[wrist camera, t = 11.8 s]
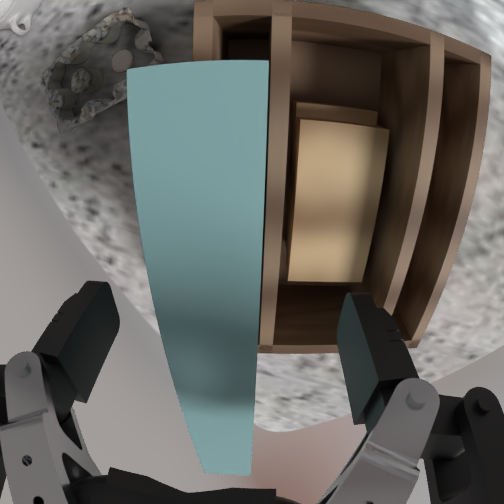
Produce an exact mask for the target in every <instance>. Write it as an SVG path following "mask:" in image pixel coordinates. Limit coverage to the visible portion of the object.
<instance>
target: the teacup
mask: <svg viewBox="0 0 504 504" xmlns="http://www.w3.org/2000/svg"><path fill="white" fill-rule="evenodd" d="M42 1H43V0H0V29H10V28H11V29H12V30H13V31H14V32H15V33H16V34H18V35H25V34H27V33H28V32H29V30H30V27H31V17H32V15H33V14H34V13H35V12H36V10H37V9H38V8H39V6H40V5H41V3H42ZM20 24H24V25H25V30H22V29H20V28H19V27H18V25H20Z"/></svg>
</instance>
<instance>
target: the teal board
mask: <svg viewBox="0 0 504 504" xmlns="http://www.w3.org/2000/svg"><path fill="white" fill-rule="evenodd" d="M268 74H269V61H265V60H216V61H195V62H182V63H171V64H162V65H153V66H146V67H139V68H132V69H127V104H128V124H129V139H130V152H131V163H132V173H133V182H134V191H135V199H136V207H137V214H138V221H139V228H140V234H141V240H142V246H143V252H144V258H145V264H146V269H147V274H148V279H149V284H150V289H151V294H152V299H153V304H154V308H155V313H156V317H157V321H158V326H159V330H160V334H161V338H162V342H163V346H164V350H165V354H166V357H167V361H168V365H169V368H170V372H171V376H172V379H173V383H174V386H175V389H176V392H177V396H178V399H179V402H180V406H181V409H182V412H183V415H184V418H185V421H186V424H187V427H188V430H189V433H190V436H191V439H192V441H193V444H194V447H195V450H196V452H197V455H198V458H199V461H200V463H201V466H202V468H203V471H204V472H206V473H216V474H230V475H250V472H251V456H252V455H251V454H252V439H253V422H254V405H255V386H256V368H257V349H258V329H259V308H260V287H261V265H262V242H263V218H264V193H265V166H266V138H267V107H268Z"/></svg>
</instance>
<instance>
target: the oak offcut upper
mask: <svg viewBox="0 0 504 504" xmlns="http://www.w3.org/2000/svg"><path fill="white" fill-rule="evenodd" d="M389 131H390V130H389V129H386V128H383V127H381V126H378V125H374V124H367V123H360V122H352V121H344V120H335V119H326V118H315V117H302V116H296V128H295V146H294V163H293V178H292V193H291V207H290V220H289V232H288V244H287V256H286V270H287V278H288V281H308V282H362V279H363V275H364V271H365V266H366V262H367V258H368V254H369V249H370V245H371V240H372V236H373V231H374V226H375V221H376V216H377V211H378V205H379V200H380V194H381V188H382V182H383V176H384V169H385V162H386V155H387V148H388V140H389Z"/></svg>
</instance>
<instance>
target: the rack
mask: <svg viewBox="0 0 504 504" xmlns="http://www.w3.org/2000/svg"><path fill="white" fill-rule="evenodd" d="M216 60H265V61H269V74H268V107H267V138H266V166H265V193H264V218H263V242H262V265H261V287H260V308H259V329H258V349H257V353H278V354H311V353H339V350H338V346H337V327H338V323H339V319H340V315H341V311H342V307H343V303H344V299H345V296H346V294H347V293H370V294H371V296H372V298H373V300H374V303H375V305H376V307H377V308H384V309H385V310H386V311H387V312H388V313H389V314H390V315H391V316H392V317H393V318H394V319H395V322H396V324H397V326H398V328H399V332H400V333H401V335H402V338H403V342H405V344H406V347H407V348H417V346H418V344H419V342H420V340H421V338H422V336H423V334H424V332H425V330H426V328H427V326H428V324H429V322H430V320H431V317H432V315H433V313H434V311H435V308H436V306H437V304H438V301H439V299H440V297H441V294H442V292H443V289H444V287H445V284H446V282H447V279H448V277H449V274H450V271H451V269H452V266H453V263H454V260H455V258H456V255H457V252H458V249H459V246H460V243H461V240H462V236H463V233H464V230H465V226H466V223H467V220H468V216H469V212H470V209H471V205H472V201H473V197H474V193H475V189H476V184H477V180H478V175H479V170H480V165H481V160H482V154H483V149H484V142H485V136H486V128H487V120H488V111H489V100H490V85H491V55H489V54H487V53H485V52H483V51H481V50H479V49H476V48H474V47H472V46H470V45H468V44H465V43H463V42H461V41H458V40H456V39H453V38H451V37H448V36H446V35H443V34H441V33H438V32H435V31H432V30H429V29H427V28H424V27H421V26H418V25H414V24H411V23H408V22H405V21H401V20H398V19H394V18H390V17H386V16H382V15H378V14H374V13H370V12H365V11H360V10H355V9H350V8H345V7H339V6H332V5H325V4H318V3H309V2H299V1H287V0H208V1H196V2H194V24H193V62H195V61H216ZM293 101H297V102H310V103H321V104H330V105H339V106H347V107H354V108H361V109H368V110H372V111H376V112H378V116H377V125H378V126H381V127H383V128H386V129H389V130H390V131H389V140H388V148H387V155H386V162H385V169H384V176H383V182H382V188H381V194H380V200H379V205H378V211H377V216H376V221H375V226H374V231H373V236H372V240H371V245H370V249H369V254H368V258H367V262H366V266H365V271H364V275H363V279H362V282H308V281H288V278H287V270H286V256H287V252H286V244H285V230H286V216H287V202H288V187H289V171H290V154H291V136H292V115H293Z"/></svg>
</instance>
